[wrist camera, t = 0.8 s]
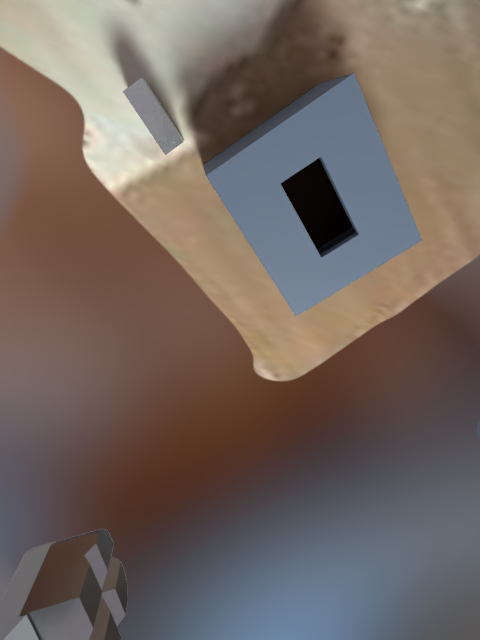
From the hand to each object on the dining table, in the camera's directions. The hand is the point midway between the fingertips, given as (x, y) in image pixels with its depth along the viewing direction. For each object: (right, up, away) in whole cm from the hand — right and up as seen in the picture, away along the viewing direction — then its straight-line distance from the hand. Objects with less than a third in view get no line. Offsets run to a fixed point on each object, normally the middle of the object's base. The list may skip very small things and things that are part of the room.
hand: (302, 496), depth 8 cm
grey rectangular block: (-10, +24, +31) cm, 41 cm away
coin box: (+5, +18, +36) cm, 41 cm away
